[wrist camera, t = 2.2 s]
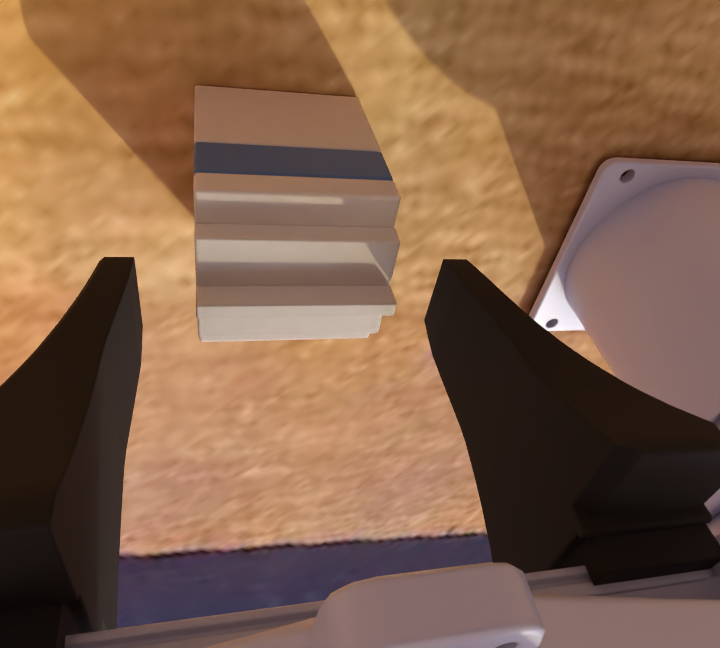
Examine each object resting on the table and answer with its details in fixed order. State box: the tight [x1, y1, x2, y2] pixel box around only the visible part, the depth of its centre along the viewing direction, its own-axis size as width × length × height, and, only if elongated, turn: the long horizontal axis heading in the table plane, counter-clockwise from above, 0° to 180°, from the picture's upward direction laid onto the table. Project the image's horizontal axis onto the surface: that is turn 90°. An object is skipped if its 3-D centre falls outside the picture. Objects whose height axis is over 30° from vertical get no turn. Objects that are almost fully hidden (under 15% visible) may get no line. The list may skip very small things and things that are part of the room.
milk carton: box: [193, 85, 401, 342], centre depth 16 cm, size 5×5×7 cm
